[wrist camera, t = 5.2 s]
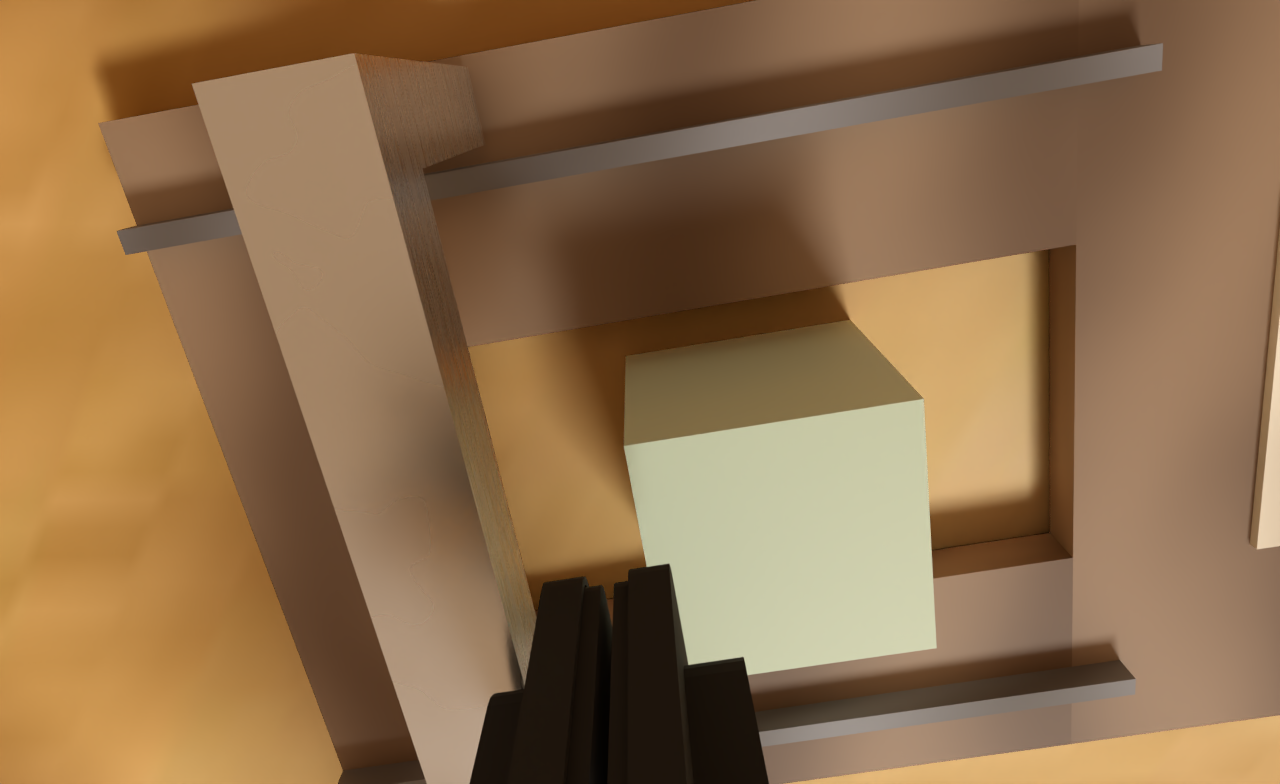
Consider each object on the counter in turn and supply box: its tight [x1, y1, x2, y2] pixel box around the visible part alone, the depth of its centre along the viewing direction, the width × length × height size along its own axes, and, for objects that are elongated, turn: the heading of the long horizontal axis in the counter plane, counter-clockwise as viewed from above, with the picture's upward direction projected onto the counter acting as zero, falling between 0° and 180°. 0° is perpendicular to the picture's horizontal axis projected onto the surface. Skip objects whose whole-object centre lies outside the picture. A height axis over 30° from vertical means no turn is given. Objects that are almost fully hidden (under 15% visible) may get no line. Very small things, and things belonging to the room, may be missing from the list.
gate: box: [192, 53, 537, 784], centre depth 13 cm, size 2×16×6 cm, turn 10°
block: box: [624, 320, 937, 675], centre depth 15 cm, size 4×4×4 cm
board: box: [98, 0, 1280, 784], centre depth 16 cm, size 28×16×2 cm, turn 100°
